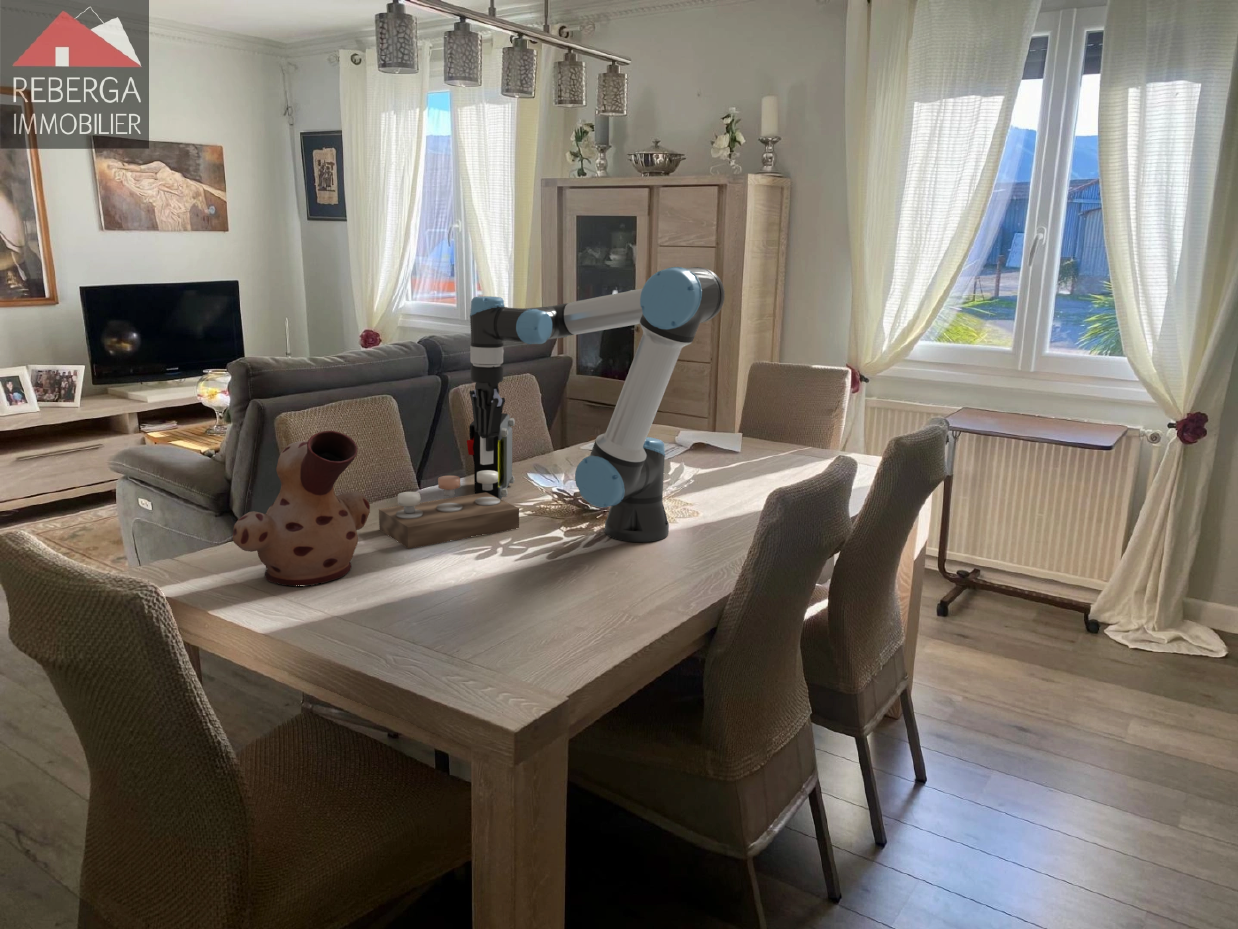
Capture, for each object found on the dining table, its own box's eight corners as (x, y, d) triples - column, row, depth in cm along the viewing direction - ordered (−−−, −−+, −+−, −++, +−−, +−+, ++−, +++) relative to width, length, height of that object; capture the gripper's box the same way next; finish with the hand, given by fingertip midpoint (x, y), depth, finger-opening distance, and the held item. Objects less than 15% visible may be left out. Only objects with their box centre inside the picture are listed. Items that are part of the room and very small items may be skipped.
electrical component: (506, 502, 240) (506, 426, 235) (467, 500, 240) (466, 425, 235) (515, 484, 257) (515, 413, 252) (478, 483, 257) (478, 412, 252)
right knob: (501, 490, 220) (501, 473, 219) (483, 493, 217) (483, 476, 216) (491, 485, 224) (491, 469, 223) (473, 488, 221) (473, 471, 220)
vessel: (332, 545, 203) (326, 411, 196) (408, 566, 192) (404, 424, 185) (217, 584, 179) (205, 433, 171) (296, 610, 168) (287, 450, 160)
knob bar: (519, 528, 218) (519, 506, 217) (408, 548, 202) (407, 525, 201) (486, 511, 231) (486, 490, 229) (379, 529, 214) (378, 506, 213)
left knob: (424, 512, 209) (424, 495, 208) (403, 516, 206) (403, 498, 205) (415, 507, 212) (414, 490, 212) (394, 510, 210) (394, 493, 209)
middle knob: (464, 496, 214) (463, 479, 213) (444, 499, 211) (444, 482, 210) (454, 491, 218) (454, 474, 217) (434, 493, 215) (434, 477, 214)
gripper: (515, 367, 210) (514, 467, 216) (487, 359, 220) (487, 456, 226) (486, 369, 206) (486, 471, 212) (459, 361, 216) (459, 459, 222)
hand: (486, 463), depth 219 cm, fingers closed
